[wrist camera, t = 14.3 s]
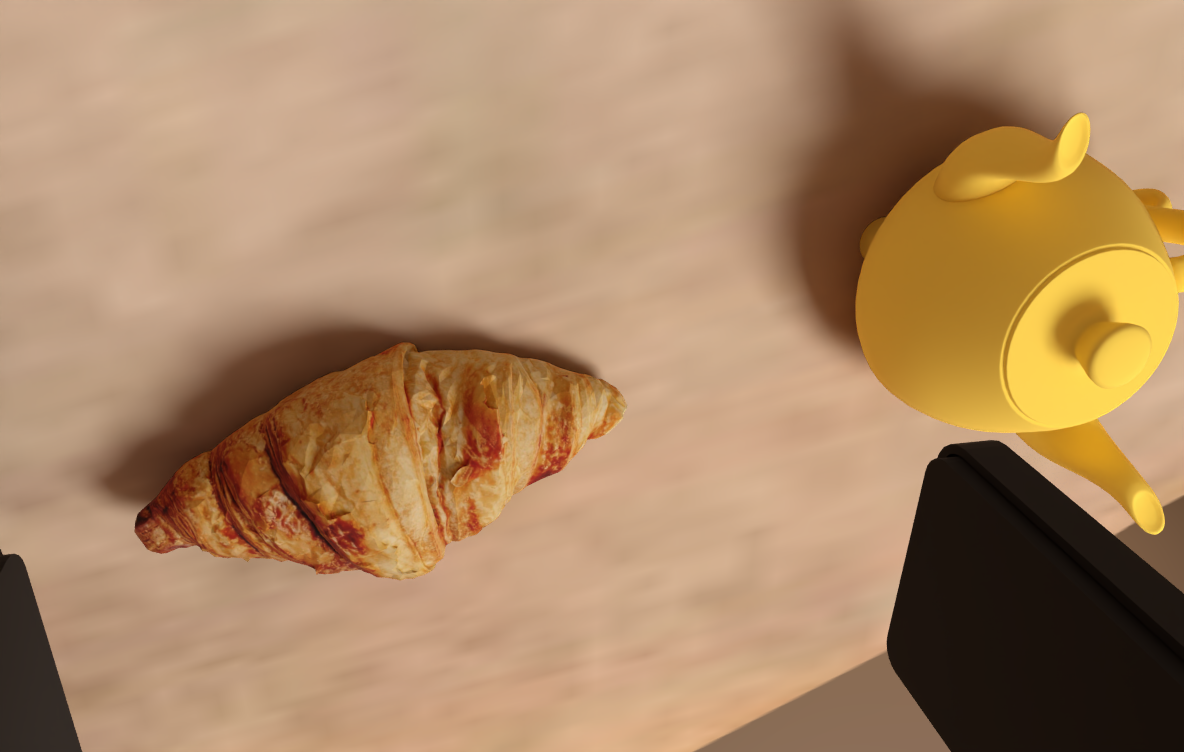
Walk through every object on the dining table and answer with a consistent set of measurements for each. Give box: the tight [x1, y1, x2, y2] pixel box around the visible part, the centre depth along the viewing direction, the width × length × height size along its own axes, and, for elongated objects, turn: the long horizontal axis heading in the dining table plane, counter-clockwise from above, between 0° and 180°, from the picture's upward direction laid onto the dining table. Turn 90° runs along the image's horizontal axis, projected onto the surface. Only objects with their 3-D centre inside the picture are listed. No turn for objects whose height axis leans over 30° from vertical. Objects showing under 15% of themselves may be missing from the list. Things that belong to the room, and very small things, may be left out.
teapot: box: [856, 113, 1184, 534], centre depth 40 cm, size 20×15×12 cm
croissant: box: [135, 342, 627, 580], centre depth 40 cm, size 21×10×8 cm, turn 100°
